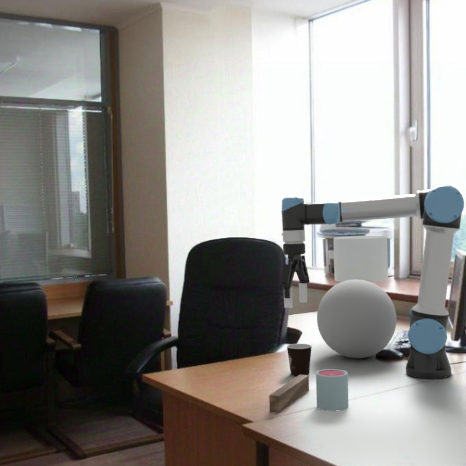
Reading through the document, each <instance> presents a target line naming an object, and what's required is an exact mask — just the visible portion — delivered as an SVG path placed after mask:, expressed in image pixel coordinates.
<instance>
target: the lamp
mask: <svg viewBox="0 0 466 466" xmlns="http://www.w3.org/2000/svg"><path fill="white" fill-rule="evenodd" d="M388 263H389V259H388V236H387V235H386V236H385V235H352V236H351V235H349V236H337V237H333V270H334V272H333V273H334V274H333V275H334V281H335V282H339V283H341V282H344V281H347V280H365V281H368V282H371V283H380V282H385V281H388V279H389V266H388V265H389V264H388Z"/></svg>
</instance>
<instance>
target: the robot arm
mask: <svg viewBox="0 0 466 466" xmlns="http://www.w3.org/2000/svg"><path fill="white" fill-rule="evenodd" d="M464 208H465V200H464V197H463V195H462V193H461V192H460V191H459V189H457V188H456V187H454V186H452V185H448V184H440V185H437V186H434V187H432V188H430V189H426V190H417V191H416V193H415V194H403V195H401V194H400V195H394V196H392V195H390V196H381V197H370V198H369V197H367V198H357V199H355V198H354V199H345V200H334V201H329V200H328V201H318V202H317V201H315V202H305V201H304V198H303V197H301V196H297V197H284V198H282V200H281V224H282V233H281V236H282V242H283V244H282V253H283V255H285V256H287V258H286V257H285V258H283V263H282V264H283V267H282V272H281V280H280V289H283V305H284V309H293V308H294V306H293V305H294V304H293V288H292V285H293V280H294V276H295V273H296V275H297V279H298V281H299V282H298V296H299V297H298V300H299V301H298V302H299V303H308V284H310V276H309V271H308V267H307V263H306V256H305V254H306V244H305V241H306V232H305V231H306V230H305V226H309V225H312V226H313V225H329V226H330V225H337V224H339V223H344V222H345V223H346V222H360V221H372V220H374V221H375V220H385V219H399V218H413V217H415V218H418V219H419V220H422V225H421V226H422V227H423V228H424V230H425V231H426V232H425V233H426V234H425V240H424V250H423V257H422V263H421V264H422V265H421V271H420V272H421V273H420V279H419V280H420V281H419V289H418V297H417V303H416V304H415V305H414V306H413V307H411V308H410V310H409V329H408V333H407V337H408V341H409V343H410V352H409V355H408V358H407V362H406V366H405V374H406V375H407V376H410V377H414V378H417V379H430V380H431V379H443V378H448V377H450V376H451V375H452V366H451V362H450V361H449V357H448V354H447V351H446V346H447V345H446V343H447V341H448V335H447V331H448V323H449V315H450V312H449V311H448V310H447V309H446V301H447V300H446V299H447V292H448V284H449V278H450V267H451V262H452V261H451V260H452V253H453V252H452V251H453V244H454V239H455V238H454V236H455V233H457V232H458V231H460V229H461V221H462V213H463V211H464Z"/></svg>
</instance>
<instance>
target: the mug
mask: <svg viewBox="0 0 466 466" xmlns="http://www.w3.org/2000/svg"><path fill="white" fill-rule="evenodd" d="M348 374H349V373H348V371H347V370H343V369H333V368H332V369H330V368H327V369H321V370H320V369H319V370H317V371H316V372H315V385H316V386H315V388H316V408H317V409H319V410H321V409H322V410H321V411H327V410H328V411H327V412H337V411H336V410H340V411H344V409H345V410H348V408H349V380H348V379H349V375H348Z"/></svg>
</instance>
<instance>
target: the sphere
mask: <svg viewBox="0 0 466 466" xmlns="http://www.w3.org/2000/svg"><path fill="white" fill-rule="evenodd" d="M316 314H317V315H316V322H317V328H318V331H319V334H320V336H321V338H322V339H323V341H324V343H325V344H326V345H327V346H328V347H329V348H330V349H331V350H332V351H334V352H335V353H336V354H339V355H341V356H343V357H347V358H350V359H364V358H368V357H372V356H374V355H376V354H379V352H382V350H383V349H385V348H386V347H387V346H388V344H389V343H390V342H391V340H392V339H393V336H394V334H395V331H396V327H397V312H396V308H395V304H394V302H393V301H392V299H391V297H390V296H389V295H388V293H387V292H386V291H385V290H384V289H382V287H381V286H379V285H377V284H376V283H374V282H368V281H365V280H347V281H344V282H339V283H337V284H335V285H333V286H332V287H331V288H330V289H329V290H328V291H327V292H326V293H325V294H324V295H323V296H322V298H321V300H320V302H319V305H318V308H317V313H316Z"/></svg>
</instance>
